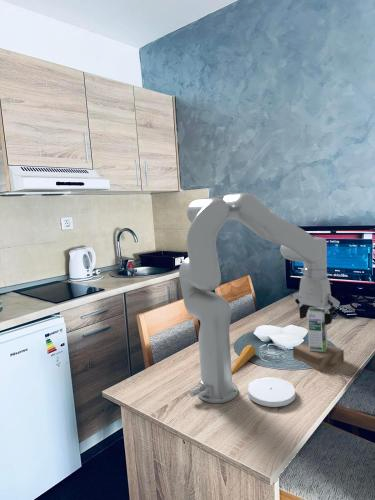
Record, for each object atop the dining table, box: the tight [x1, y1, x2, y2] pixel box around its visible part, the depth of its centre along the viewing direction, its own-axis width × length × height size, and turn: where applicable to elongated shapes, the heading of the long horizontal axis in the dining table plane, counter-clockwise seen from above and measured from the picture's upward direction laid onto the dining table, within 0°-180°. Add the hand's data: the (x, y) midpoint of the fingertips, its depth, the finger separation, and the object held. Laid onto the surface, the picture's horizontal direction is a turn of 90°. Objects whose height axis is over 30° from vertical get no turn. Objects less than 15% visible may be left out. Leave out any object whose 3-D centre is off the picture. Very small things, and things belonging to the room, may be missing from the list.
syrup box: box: [307, 307, 328, 352], centre depth 125 cm, size 6×6×14 cm
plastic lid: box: [246, 376, 296, 408], centre depth 106 cm, size 14×14×2 cm
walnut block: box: [292, 341, 345, 372], centre depth 127 cm, size 12×12×5 cm
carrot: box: [231, 344, 256, 375], centre depth 128 cm, size 20×4×4 cm, turn 147°
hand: (315, 320), depth 125 cm, fingers open, 9 cm apart
